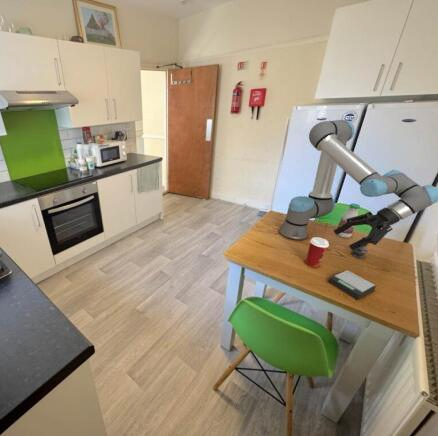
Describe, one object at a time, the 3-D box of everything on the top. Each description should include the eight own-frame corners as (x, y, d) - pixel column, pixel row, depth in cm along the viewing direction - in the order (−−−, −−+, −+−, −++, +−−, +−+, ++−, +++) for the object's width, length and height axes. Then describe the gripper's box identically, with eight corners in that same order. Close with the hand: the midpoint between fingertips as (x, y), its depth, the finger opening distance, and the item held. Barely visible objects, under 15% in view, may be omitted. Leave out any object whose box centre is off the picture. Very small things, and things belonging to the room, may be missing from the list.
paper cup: (323, 269, 118) (332, 245, 111) (306, 267, 119) (314, 244, 113) (316, 259, 125) (325, 237, 118) (300, 258, 126) (308, 235, 119)
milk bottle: (335, 230, 150) (346, 201, 140) (350, 233, 146) (363, 203, 136) (335, 235, 144) (347, 205, 135) (351, 239, 140) (364, 208, 131)
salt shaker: (363, 253, 128) (372, 234, 122) (366, 259, 123) (376, 240, 118) (349, 251, 130) (357, 232, 125) (352, 257, 125) (361, 237, 120)
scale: (344, 274, 114) (346, 269, 113) (373, 290, 104) (376, 285, 103) (328, 281, 110) (330, 276, 109) (357, 299, 100) (360, 294, 99)
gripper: (420, 233, 93) (362, 261, 103) (378, 207, 115) (333, 231, 125) (411, 221, 92) (353, 249, 101) (370, 196, 113) (325, 222, 123)
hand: (342, 240), depth 113 cm, fingers open, 13 cm apart
